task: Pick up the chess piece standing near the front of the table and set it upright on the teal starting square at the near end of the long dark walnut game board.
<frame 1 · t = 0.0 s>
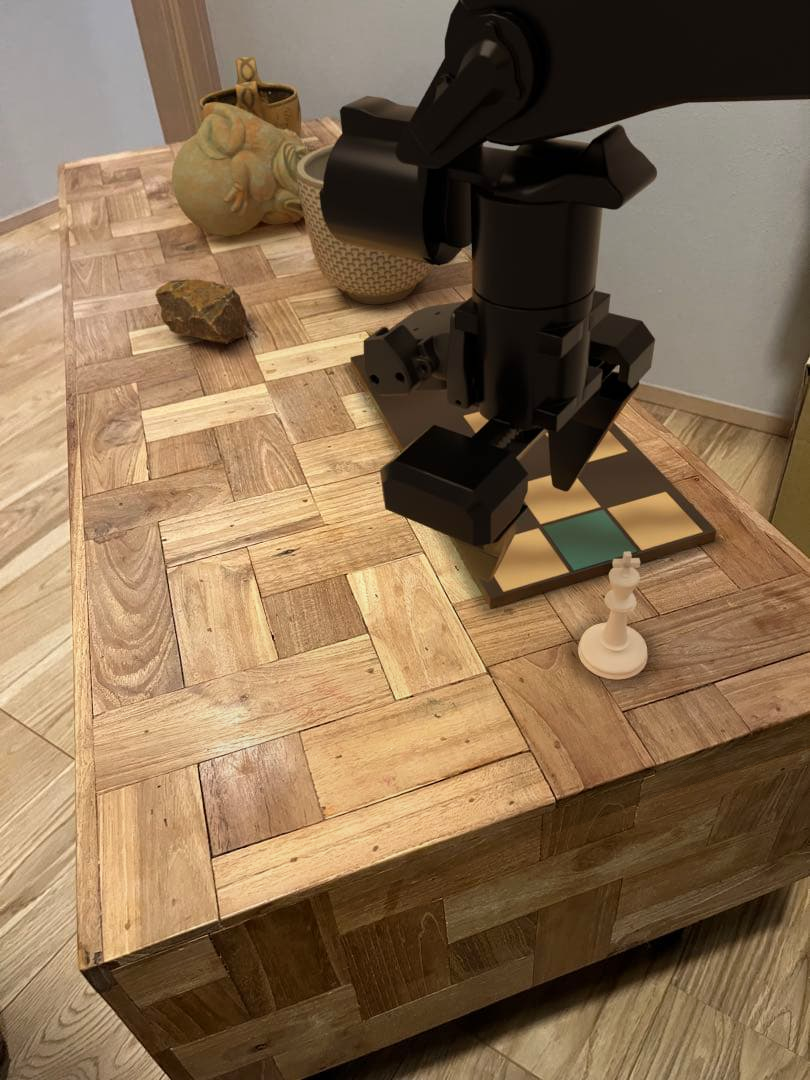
hand: (524, 530, 49), 15 cm above the table, tool pointing down, fingers open, 9 cm apart
rock: (210, 338, 100), on the table
sculpture: (256, 227, 125), on the table
chess piece: (612, 654, 60), on the table
game board: (504, 440, 80), on the table
planter: (381, 291, 106), on the table
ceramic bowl: (260, 163, 147), on the table
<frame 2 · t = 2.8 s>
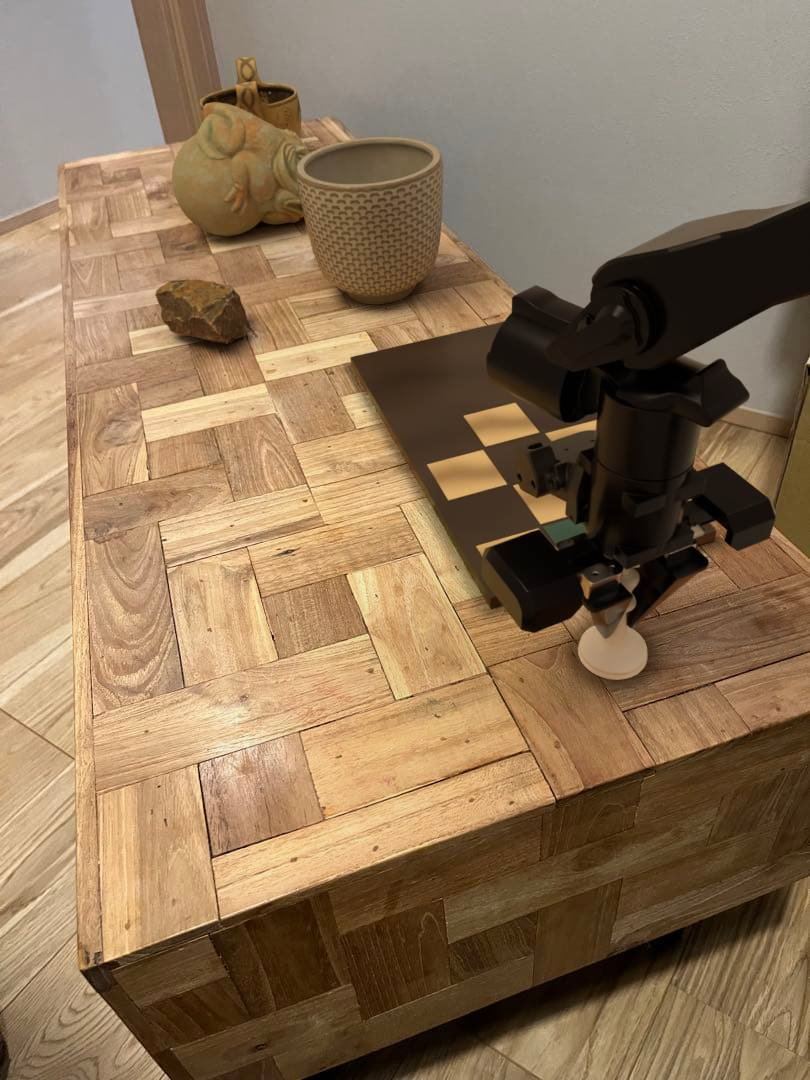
hand: (615, 628, 58), 3 cm above the table, tool pointing down, fingers closed on chess piece
chess piece: (612, 654, 60), on the table, touching gripper
everything else where it was.
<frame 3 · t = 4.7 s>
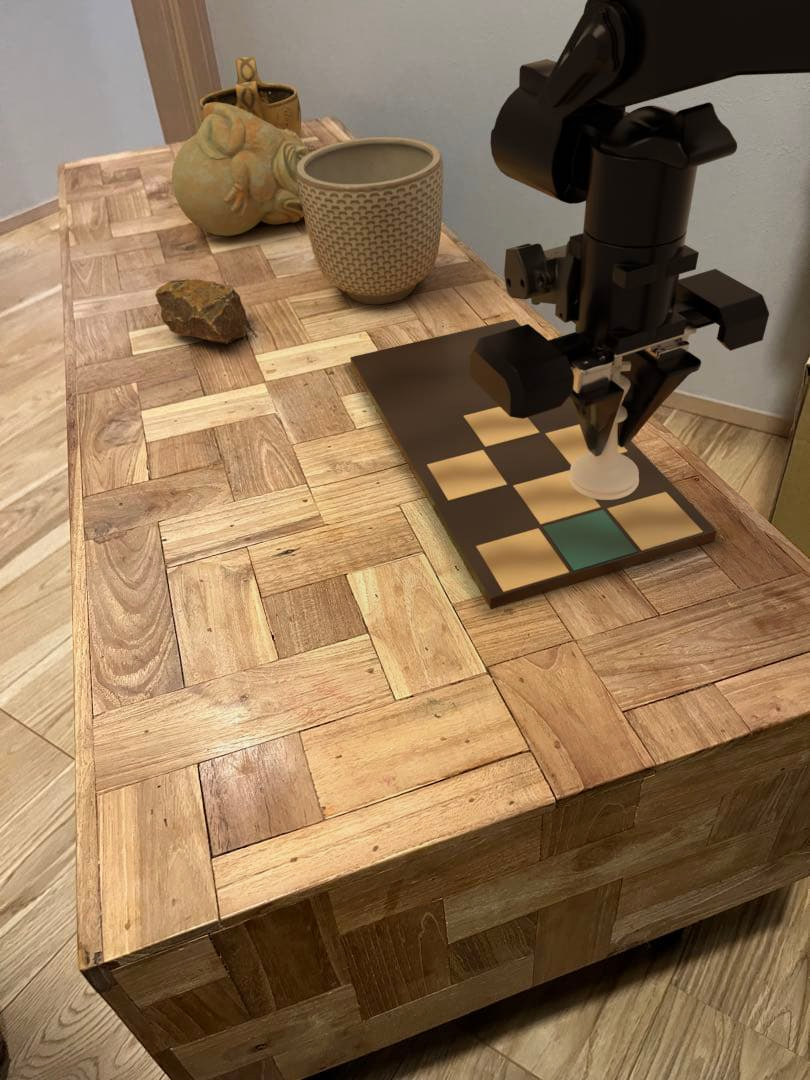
hand: (607, 448, 57), 13 cm above the table, tool pointing down, fingers closed on chess piece
chess piece: (603, 480, 59), point 10 cm above the table, touching gripper
everything else where it was.
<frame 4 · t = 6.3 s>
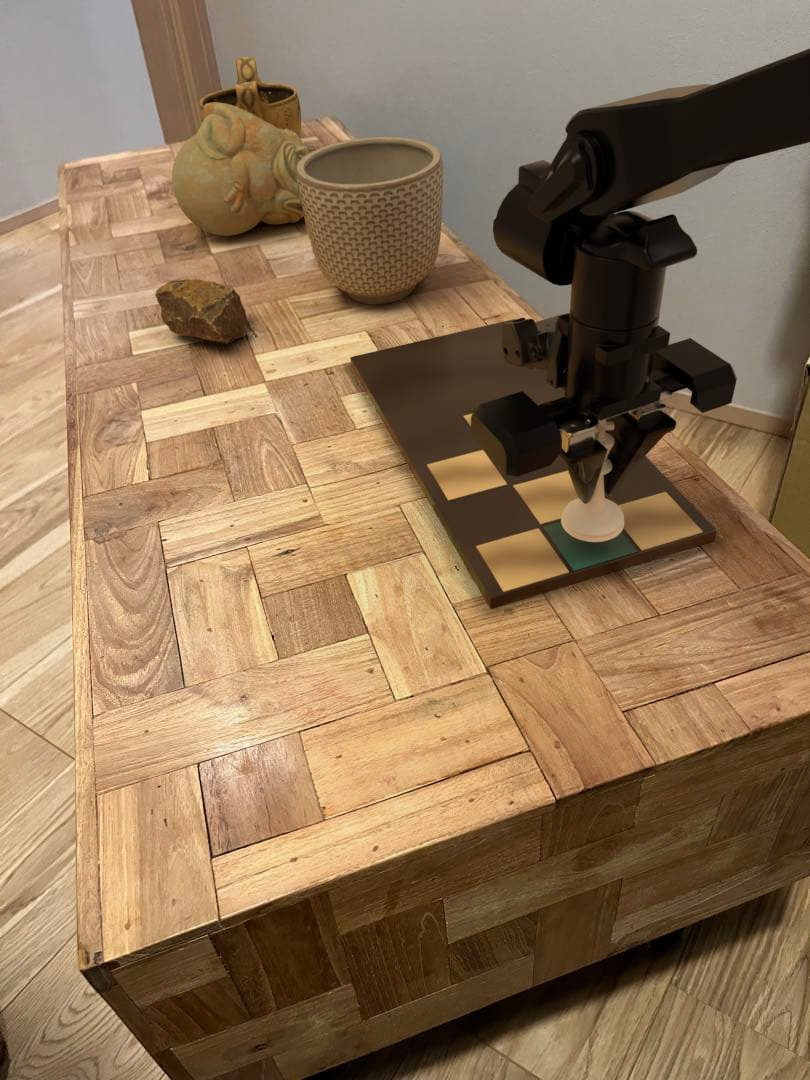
hand: (594, 496, 64), 6 cm above the table, tool pointing down, fingers closed on chess piece
chess piece: (592, 523, 66), point 3 cm above the table, touching gripper
everything else where it was.
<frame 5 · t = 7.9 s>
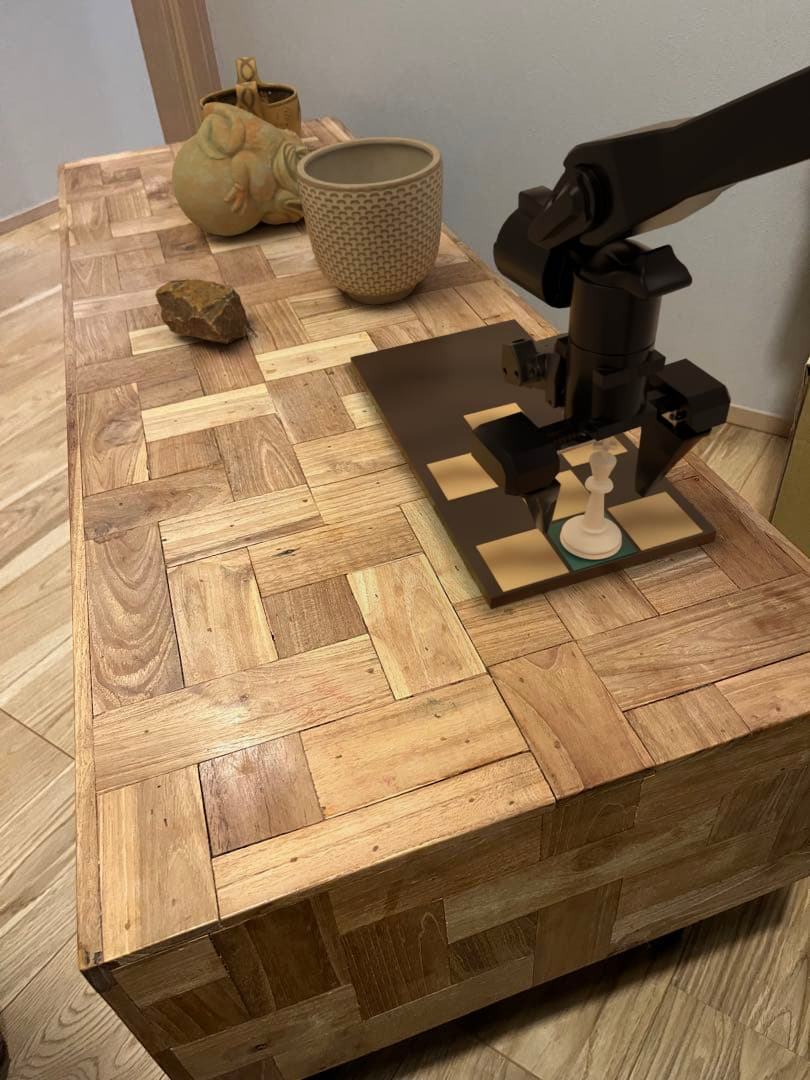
hand: (592, 511, 65), 4 cm above the table, tool pointing down, fingers open, 9 cm apart
chess piece: (590, 541, 67), point 1 cm above the table, touching game board
everything else where it was.
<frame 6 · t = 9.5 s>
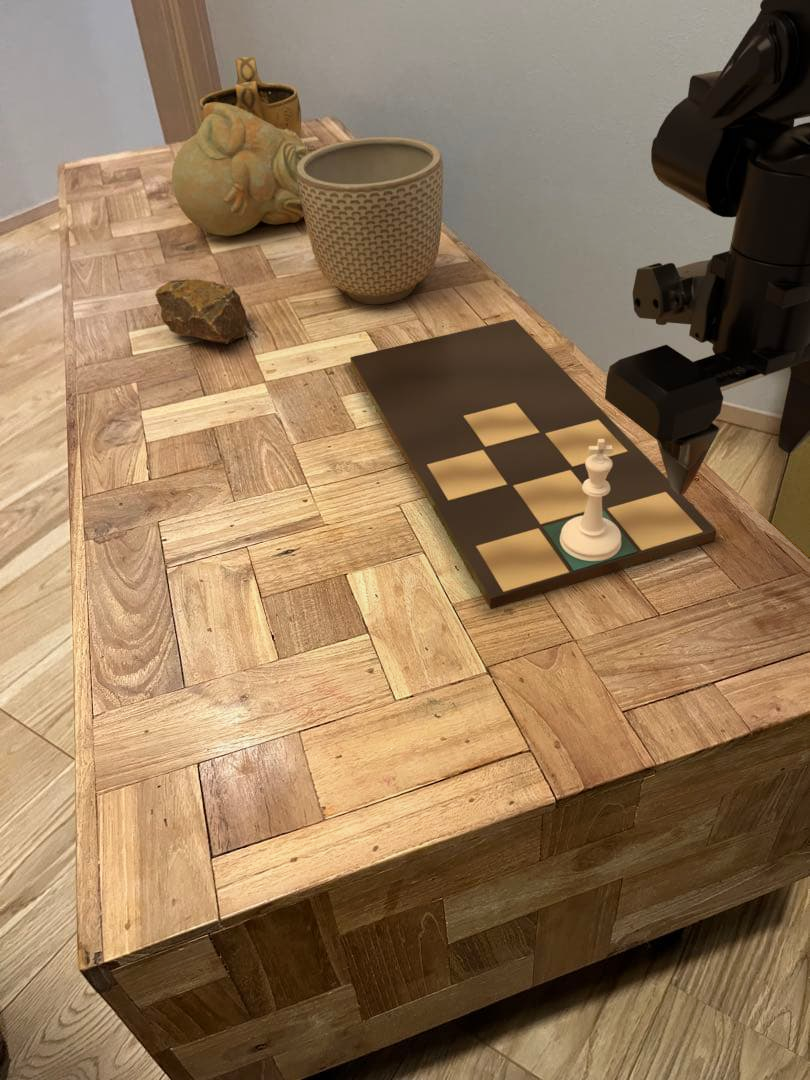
hand: (732, 469, 56), 12 cm above the table, tool pointing down, fingers open, 9 cm apart
nothing on the table moved.
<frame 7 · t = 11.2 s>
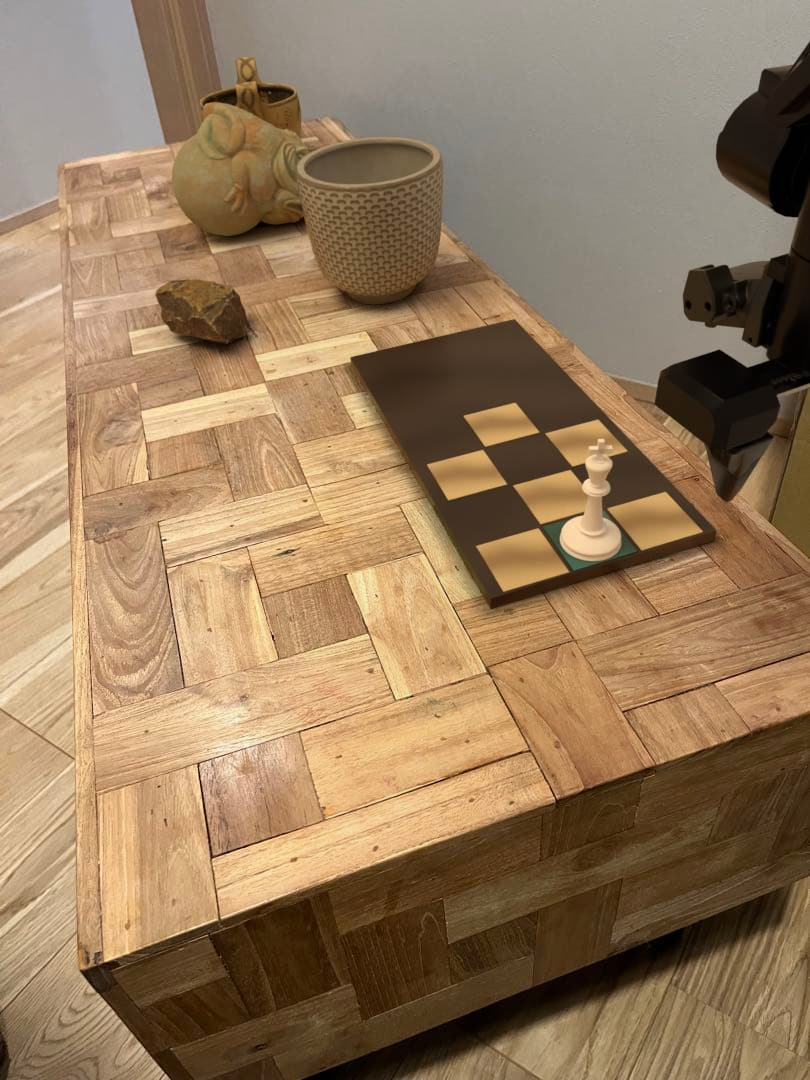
hand: (779, 476, 55), 12 cm above the table, tool pointing down, fingers open, 9 cm apart
nothing on the table moved.
at the end: chess piece 0.2 cm from the target spot on the game board, point 1.1 cm above the game board's base; chess piece tilted 0°; the gripper is holding nothing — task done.
